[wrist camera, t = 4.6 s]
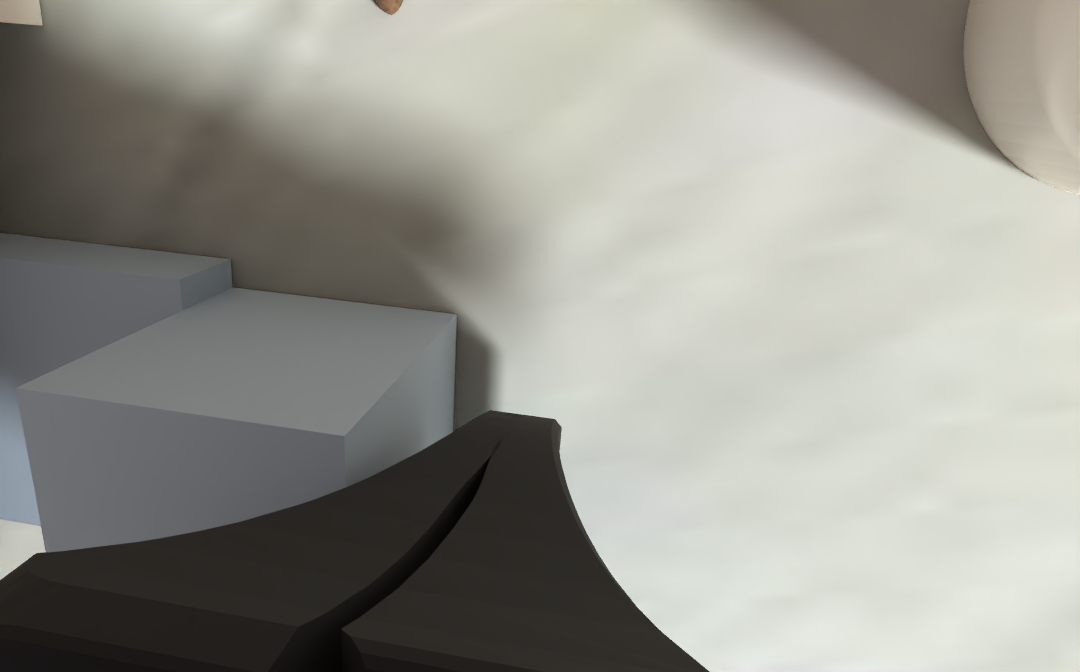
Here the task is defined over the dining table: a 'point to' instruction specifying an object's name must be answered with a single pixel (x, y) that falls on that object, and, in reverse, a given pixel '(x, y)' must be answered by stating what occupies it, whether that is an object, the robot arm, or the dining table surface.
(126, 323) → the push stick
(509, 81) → the dining table surface
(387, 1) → the hand saw
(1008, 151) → the white rounded cylinder
